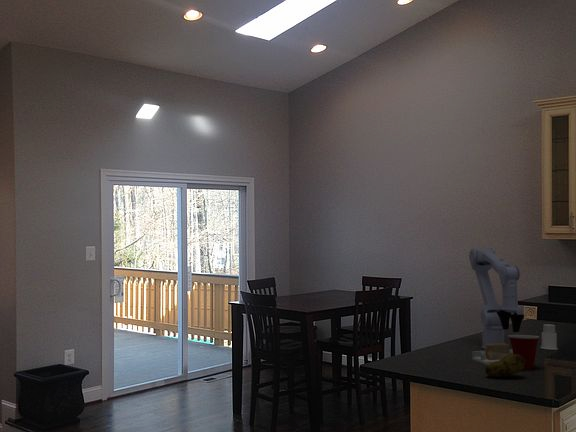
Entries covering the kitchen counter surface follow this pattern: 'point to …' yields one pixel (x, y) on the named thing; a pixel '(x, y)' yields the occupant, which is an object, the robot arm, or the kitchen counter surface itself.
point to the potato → (506, 366)
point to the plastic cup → (525, 348)
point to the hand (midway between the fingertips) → (510, 330)
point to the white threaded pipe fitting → (549, 337)
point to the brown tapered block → (496, 351)
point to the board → (484, 357)
